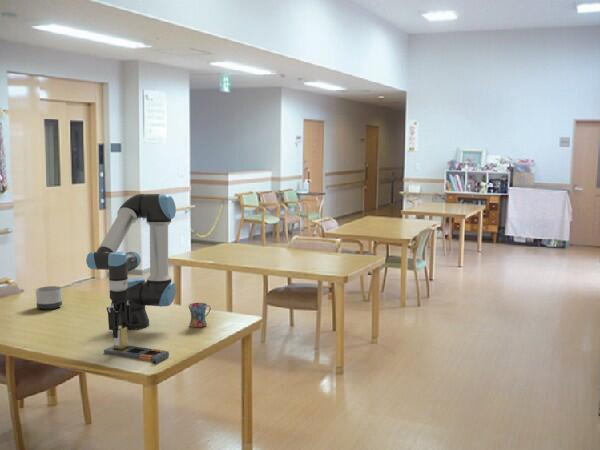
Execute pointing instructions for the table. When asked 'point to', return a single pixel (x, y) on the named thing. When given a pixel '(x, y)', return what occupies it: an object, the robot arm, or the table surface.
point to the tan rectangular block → (122, 338)
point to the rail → (139, 353)
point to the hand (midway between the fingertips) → (120, 343)
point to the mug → (198, 314)
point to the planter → (48, 297)
